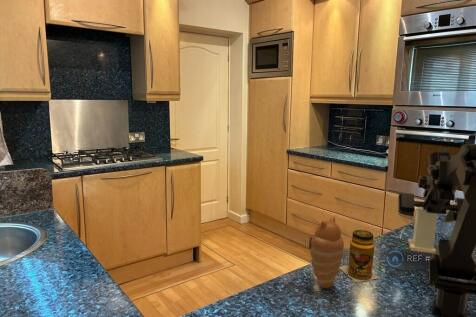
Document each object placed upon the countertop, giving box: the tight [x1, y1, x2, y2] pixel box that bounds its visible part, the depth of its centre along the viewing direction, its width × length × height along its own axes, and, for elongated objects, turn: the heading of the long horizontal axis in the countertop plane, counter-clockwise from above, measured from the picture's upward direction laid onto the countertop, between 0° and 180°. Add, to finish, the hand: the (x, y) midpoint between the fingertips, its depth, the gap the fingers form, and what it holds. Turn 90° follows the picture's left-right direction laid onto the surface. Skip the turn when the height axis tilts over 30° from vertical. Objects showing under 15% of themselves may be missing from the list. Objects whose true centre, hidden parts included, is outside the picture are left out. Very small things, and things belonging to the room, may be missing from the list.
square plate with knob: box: [407, 238, 436, 254], centre depth 113 cm, size 7×7×4 cm
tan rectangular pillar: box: [412, 210, 438, 249], centre depth 112 cm, size 5×5×13 cm
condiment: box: [339, 229, 380, 283], centre depth 96 cm, size 7×8×12 cm
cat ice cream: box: [310, 216, 345, 289], centre depth 88 cm, size 9×8×18 cm
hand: (427, 219), depth 108 cm, fingers open, 9 cm apart
